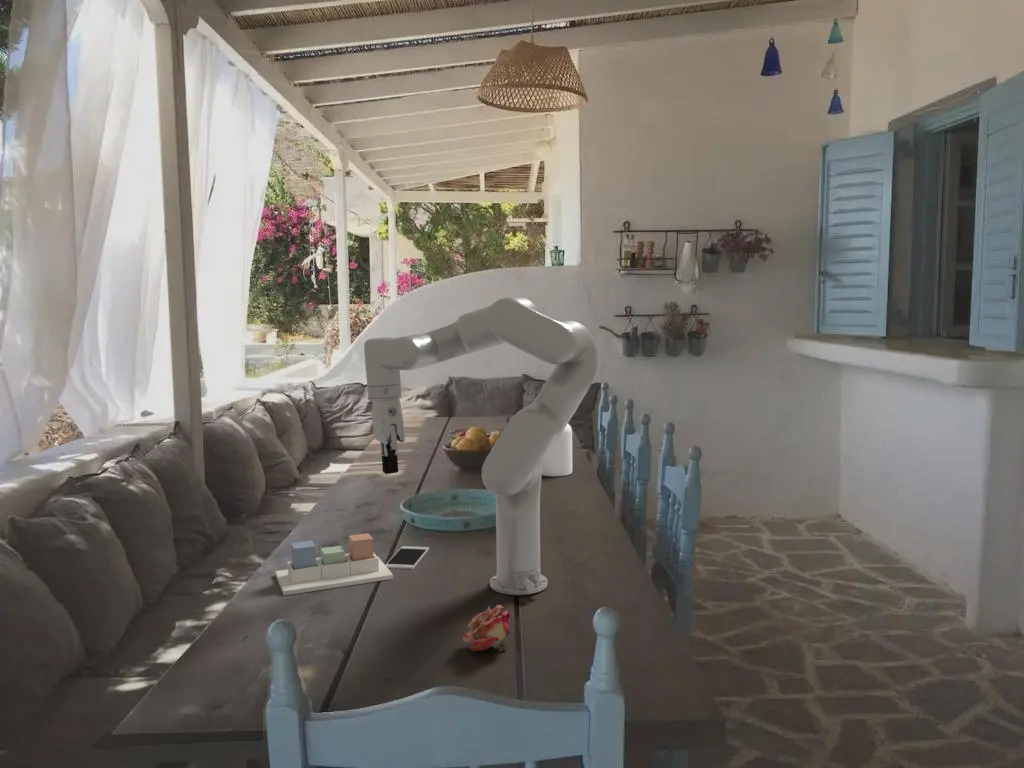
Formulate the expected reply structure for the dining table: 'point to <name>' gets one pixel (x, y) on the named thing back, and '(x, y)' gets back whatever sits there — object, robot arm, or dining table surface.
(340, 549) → the sage button
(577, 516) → the dining table surface
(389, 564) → the smartphone
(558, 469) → the white jar
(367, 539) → the terracotta button
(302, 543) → the slate button
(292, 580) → the board
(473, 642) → the flower
